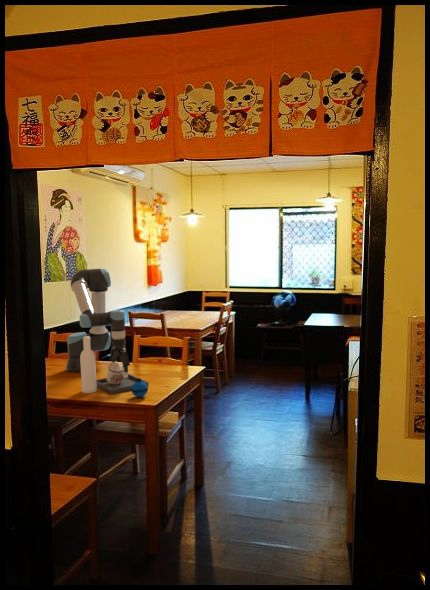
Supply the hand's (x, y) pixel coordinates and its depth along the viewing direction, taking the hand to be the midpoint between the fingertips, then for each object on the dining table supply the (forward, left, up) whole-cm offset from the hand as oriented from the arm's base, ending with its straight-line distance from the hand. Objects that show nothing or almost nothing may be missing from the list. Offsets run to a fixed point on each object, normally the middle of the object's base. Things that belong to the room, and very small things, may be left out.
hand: (120, 375), depth 281 cm
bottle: (-2, -18, -6) cm, 19 cm away
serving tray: (0, 0, -6) cm, 6 cm away
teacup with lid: (-5, 0, -4) cm, 6 cm away
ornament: (+26, -2, -6) cm, 27 cm away
